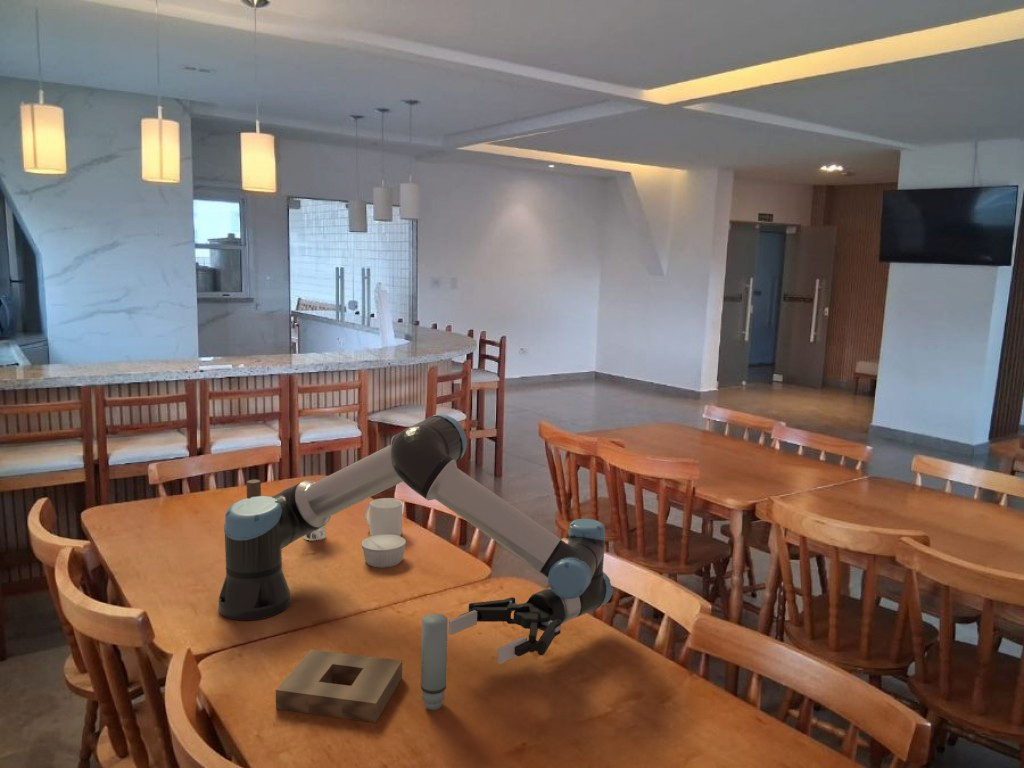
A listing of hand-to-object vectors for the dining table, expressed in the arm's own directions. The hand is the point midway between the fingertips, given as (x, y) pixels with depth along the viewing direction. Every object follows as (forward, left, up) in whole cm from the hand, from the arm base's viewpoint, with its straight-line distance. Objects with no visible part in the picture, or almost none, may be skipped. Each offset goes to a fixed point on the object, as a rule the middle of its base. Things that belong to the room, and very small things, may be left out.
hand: (473, 641), depth 135 cm
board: (-22, -7, -9) cm, 25 cm away
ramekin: (-35, +52, -9) cm, 63 cm away
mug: (-42, +71, -9) cm, 83 cm away
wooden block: (-69, +51, -9) cm, 86 cm away
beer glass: (-59, +63, -9) cm, 87 cm away
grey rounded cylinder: (-5, -7, -9) cm, 13 cm away
